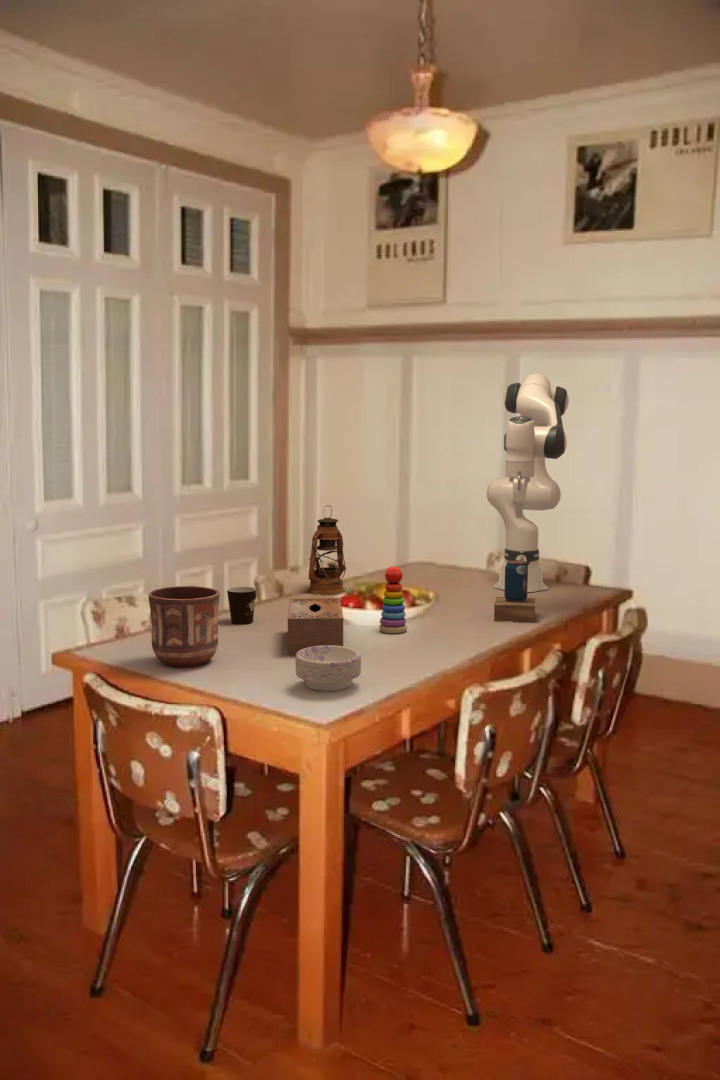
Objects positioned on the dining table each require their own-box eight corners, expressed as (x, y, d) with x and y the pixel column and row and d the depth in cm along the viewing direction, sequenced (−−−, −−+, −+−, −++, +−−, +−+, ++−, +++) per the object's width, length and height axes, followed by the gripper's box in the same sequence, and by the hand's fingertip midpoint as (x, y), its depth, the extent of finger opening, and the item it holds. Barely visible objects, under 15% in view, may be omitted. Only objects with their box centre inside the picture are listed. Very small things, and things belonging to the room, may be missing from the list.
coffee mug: (237, 626, 285) (237, 593, 284) (222, 621, 292) (221, 589, 291) (270, 621, 293) (270, 588, 291) (254, 616, 299) (254, 584, 298)
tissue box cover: (289, 632, 280) (289, 598, 278) (340, 632, 280) (340, 598, 279) (288, 656, 254) (287, 618, 253) (343, 655, 255) (343, 618, 254)
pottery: (152, 673, 237) (151, 600, 235) (147, 655, 254) (145, 587, 251) (225, 668, 242) (224, 597, 240) (215, 651, 259) (214, 584, 256)
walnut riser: (495, 612, 305) (496, 596, 304) (534, 614, 303) (535, 598, 302) (494, 621, 293) (494, 604, 292) (534, 622, 291) (535, 606, 290)
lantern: (330, 585, 349) (330, 502, 344) (356, 590, 340) (356, 504, 335) (295, 592, 336) (294, 505, 332) (322, 597, 328) (321, 508, 323)
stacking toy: (411, 633, 278) (412, 568, 276) (385, 635, 275) (386, 570, 273) (400, 627, 286) (400, 563, 283) (375, 629, 283) (375, 565, 280)
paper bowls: (346, 699, 218) (346, 664, 216) (284, 691, 223) (284, 657, 222) (370, 680, 232) (370, 648, 230) (312, 674, 237) (311, 642, 236)
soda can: (529, 602, 296) (530, 563, 294) (506, 602, 295) (507, 563, 294) (524, 597, 303) (525, 559, 301) (502, 598, 302) (503, 559, 301)
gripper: (530, 474, 286) (529, 521, 288) (530, 467, 306) (529, 511, 308) (508, 474, 287) (507, 520, 289) (510, 467, 307) (509, 510, 309)
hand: (519, 515), depth 299 cm, fingers open, 8 cm apart
